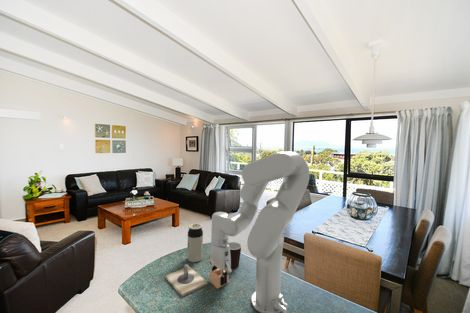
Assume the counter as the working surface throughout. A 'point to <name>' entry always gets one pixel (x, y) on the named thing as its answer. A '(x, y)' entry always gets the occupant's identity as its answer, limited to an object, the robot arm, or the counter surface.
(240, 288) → the counter surface
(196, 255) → the travel mug
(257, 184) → the robot arm
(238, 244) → the coffee mug
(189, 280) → the post stand
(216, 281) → the ring
